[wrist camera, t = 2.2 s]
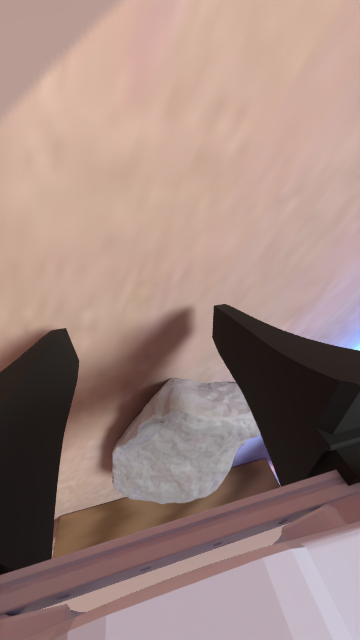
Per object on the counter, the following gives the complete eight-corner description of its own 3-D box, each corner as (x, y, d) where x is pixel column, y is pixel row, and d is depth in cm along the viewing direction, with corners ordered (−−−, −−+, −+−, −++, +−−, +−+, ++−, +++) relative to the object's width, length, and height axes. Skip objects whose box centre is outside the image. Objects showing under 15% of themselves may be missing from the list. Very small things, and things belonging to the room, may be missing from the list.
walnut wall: (265, 458, 27) (291, 508, 22) (262, 465, 28) (287, 514, 24) (60, 516, 23) (46, 589, 19) (66, 522, 24) (54, 593, 20)
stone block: (111, 443, 21) (204, 459, 23) (97, 501, 17) (211, 515, 19) (142, 349, 17) (255, 378, 18) (132, 397, 12) (282, 429, 14)
